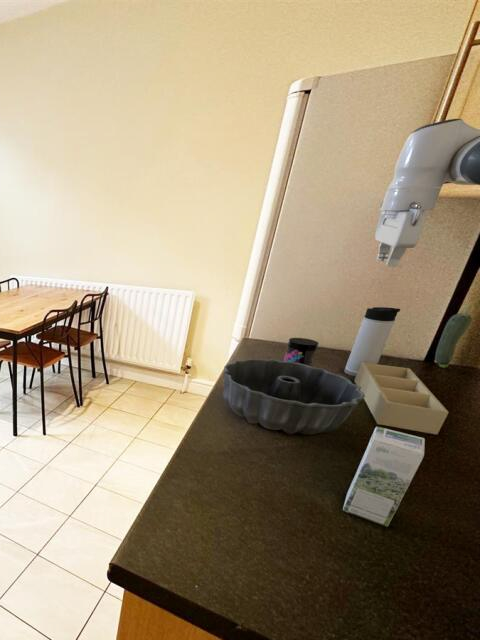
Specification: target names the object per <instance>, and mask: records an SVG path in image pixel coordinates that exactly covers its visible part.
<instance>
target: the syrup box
mask: <svg viewBox="0 0 480 640" xmlns="http://www.w3.org/2000/svg"><path fill="white" fill-rule="evenodd" d="M425 443H426V439H425V438H424V437H420V436H417V435H413V434H409V433H405V432H401V431H397V430H393V429H389V428H385V427H381V426H376V427H375V428H374V430H373V433H372V435H371V437H370V439H369V442H368V444H367V447H366V450H365V451H364V453H363V456H362V457H361V460H360V463H359V465H358V467H357V469H356V472H355V474H354V477H353V479H352V481H351V484H350V486H349V488H348V491H347V492H346V496H345V500H344V504H343V506H342V507H343V508H342V512H345V513H347V514H350V515H352V516H353V515H354V516H355V517H359V518H361V519H365V520H366V521H370V522H372V523H375V524H378V525H381V526H384V527H386V528H387V527H388V526H389V525H390V524H391V521H392V519H393V517H394V516H395V513H396V512H397V510H398V508H399V506H400V503H401V501H402V499H403V498H404V496H405V494H406V492H407V490H408V488H409V486H410V484H411V483H412V481H413V478H414V477H415V475H416V472H417V471H418V469H419V466H421V463H422V461H423V459H424V456H425Z"/></svg>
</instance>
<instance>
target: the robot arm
mask: <svg viewBox="0 0 480 640" xmlns="http://www.w3.org/2000/svg"><path fill="white" fill-rule="evenodd" d="M393 174H394V176H393V178H392V181H391V182H390V184H389V185H388V187H387V190H386V192H385V195H384V198H383V199H382V201H381V203H380V206H379V211H381V212H380V215H379V219H378V222H377V226H376V231H375V235H374V236H375V237H374V239H375V241H377V242H379V245H378V253H377V257H376V261H377V262H385V265H386V266H387V267H389V268H394V267H398V265H399V263H400V260H401V258H402V257H403V256H404V254H405V253H406V251H407V249H413V248H415V247H416V246H417V245H418V243H419V241H420V238H421V236H422V233H423V229H424V226H425V223H426V220H427V212H426V211H433V210H434V208H435V205H436V203H437V201H438V198H439V196H440V193H441V190H442V187H443V185H444V184H445V183H451V184H454V185H458V186H459V185H460V186H480V129H479V128H477V127H474V126H472V125H470V124H468V123H466V122H465V121H464V119H462V118H451V119H446V120H441V121H437V122H433V123H429V124H425V125H423V126H420V127H418V128H416V129H415V130H413V131H412V132H411V133H410V134H409V136H407V138H406V140H405V142H404V144H403V146H402V148H401V151H400V153H399V156H398V158H397V160H396V163H395V166H394V173H393ZM390 251H391V252H390Z"/></svg>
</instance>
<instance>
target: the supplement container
mask: <svg viewBox="0 0 480 640" xmlns="http://www.w3.org/2000/svg"><path fill="white" fill-rule="evenodd" d="M319 345H320V344H319V341H317V340H314V339H310V338H305V337H290V338H289V339H288V343H287V346H286V350H285V353H284V356H283V359H282V361H283V362H295V363H300V364H305V365H308V366H311V367H312V364H313V361H314V359H315V356H316V352H317V350H318V347H319Z"/></svg>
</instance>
